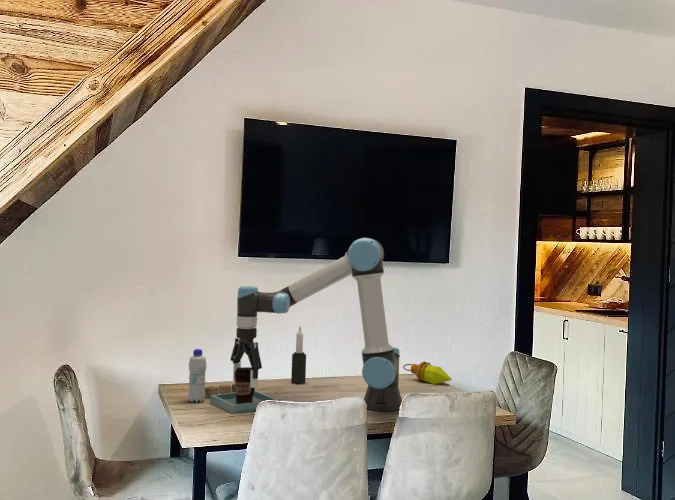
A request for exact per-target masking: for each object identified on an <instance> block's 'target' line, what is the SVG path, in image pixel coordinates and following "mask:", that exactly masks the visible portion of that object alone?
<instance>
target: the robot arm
mask: <svg viewBox="0 0 675 500" xmlns="http://www.w3.org/2000/svg"><path fill="white" fill-rule="evenodd" d="M344 254H345V255H344V256H342V257H340V258H339V259H336V260H334V261H333V262H331V263H329V264H327V265H325V266H323V267H322V268H319V269H318V270H316V271H313V272H312V273H310V274H308V275H306V276H304V277H303V278H301V279H299V280H297V281H295V282H293V283H291V284H289V285H288V286H286V287H283V288H282V289H280V290H277V291H274V292H262V291H259V289H258V287H257V286H253V285H243V286H239V287H238V289H237V298H236V299H237V300H236V301H237V302H236V303H237V304H236V306H237V307H236V308H237V309H236V313H237V314H236V327H237V328H236V338H234V345H233V348H232V351H231V356H230V361H231V362H232V363H233V369H232V371H233V373H232V381H233V382H235V371H236V370H237V368H242V366H241V364H242V361H241V360H242V358H243V356H244V354H245V355H247V357H248V360H249V364H250V367H252V368H251V369H250V370H251V376H250V388H254V387H255V388H258V386H259V384H258V383H259V382H258V381H259V370H260V369H263V365H262V361H261V356H260V351H259V343H258V342H257V341H256V342H254V339H256V338H257V332H258V331H257V325H258V324H257V323H258V313H269V314H278V315H279V314H287V313H288V312H289V310H290V308H291V307H292V306H295V305H296V304H298V303H300V302H301V301H303V300H306V299H307V298H309V297H312V296H313V295H315V294H316V293H318V292H321V291H322V290H325V289H326V288H329V287H330V286H333V285H334V284H336V283H338V282H340V281H342V280H344V279H346V278H347V277H349V276H351V277H352V279H354V280H355V281H356V282H357V283H356V284H357V291H358V299H359V301H358V302H359V307H360V317H361V324H362V333H363V340H364V348H363V349H362V351H361V359H362V370H361V374H362V377H363V380H364V382H365V383H366V384H367V388H366V390H365V394H364V397H363V399H364V400H365V402H366V404H367V408H368V409H367V410H370V411H375V412H397V411H400V410H399V407H400V405H401V402H402V403H403V400H402V396H401V392H400V388H399V380H400V378H399V377H400V376H399V375H400V357H401V354H400V349H399V348H398V347H394V346H392V345H390V342H389V337H388V328H387V321H386V320H387V319H386V314H385V311H386V310H385V305H384V304H385V303H384V297H383V288H382V281H381V280H382V279H381V278H382V276H383V275H384V274H385V271H384V263H383V260H384V257H385V252H384V248H383V245H382V244H381V243H380V242H379V241H378V240H376V239H374V238H369V237H361V238H358V239H356V240H354V241H353V242H352V243H351V245H350V246H349V248H348V250H347V251H346V252H345V253H344Z"/></svg>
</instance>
